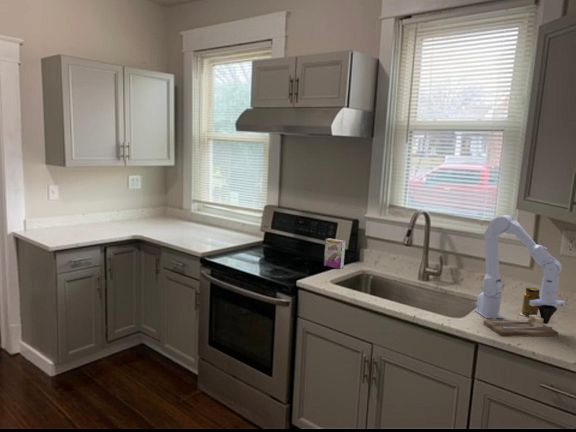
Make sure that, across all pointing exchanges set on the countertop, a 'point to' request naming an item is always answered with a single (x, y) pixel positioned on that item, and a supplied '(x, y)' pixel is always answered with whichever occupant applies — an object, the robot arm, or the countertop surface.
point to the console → (519, 328)
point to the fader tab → (535, 321)
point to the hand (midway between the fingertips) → (544, 322)
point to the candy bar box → (334, 253)
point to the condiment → (529, 295)
